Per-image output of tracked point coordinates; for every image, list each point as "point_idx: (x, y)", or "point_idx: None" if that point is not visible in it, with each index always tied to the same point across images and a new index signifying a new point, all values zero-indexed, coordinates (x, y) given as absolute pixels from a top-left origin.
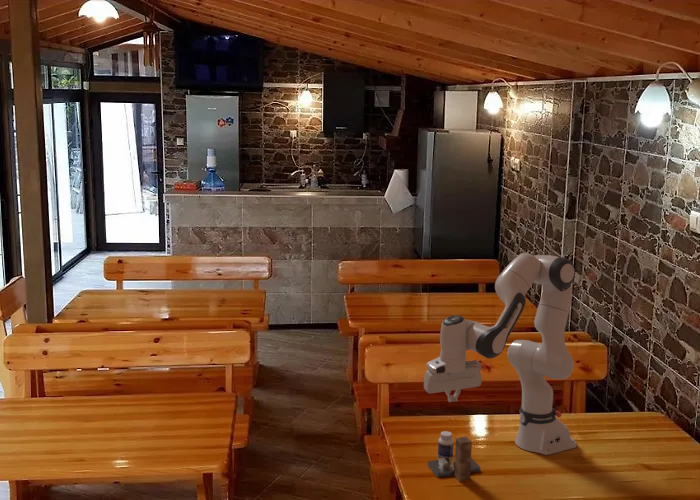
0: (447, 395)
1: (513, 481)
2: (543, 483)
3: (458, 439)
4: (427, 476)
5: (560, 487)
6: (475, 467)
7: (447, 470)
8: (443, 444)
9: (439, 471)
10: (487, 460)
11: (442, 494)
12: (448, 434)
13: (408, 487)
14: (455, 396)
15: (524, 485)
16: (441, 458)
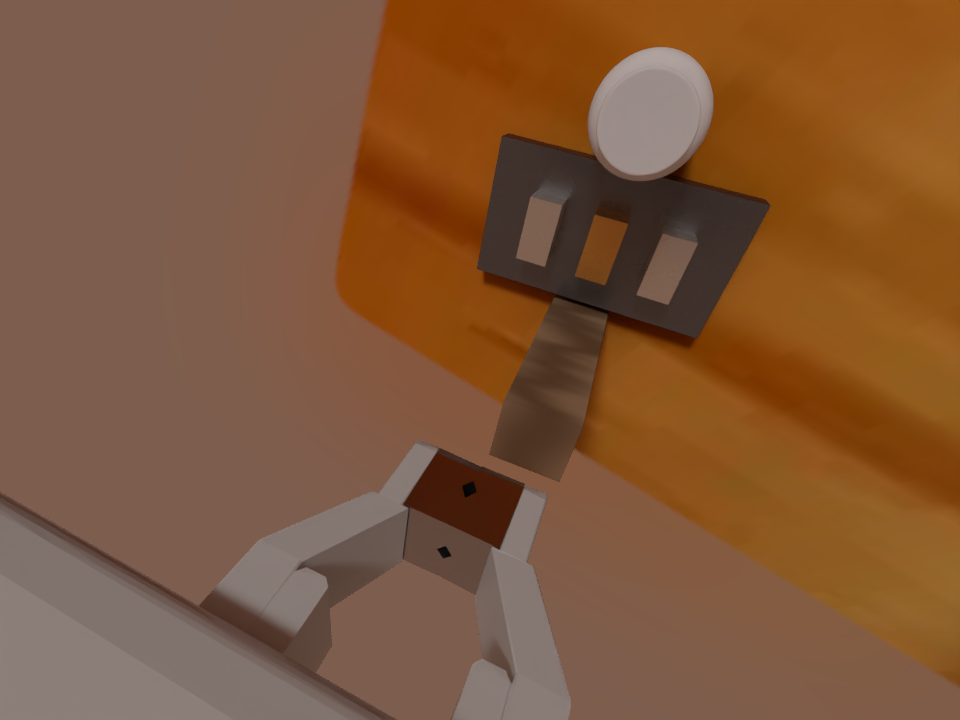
0: (353, 514)
1: (742, 456)
2: (834, 530)
3: (506, 420)
4: (450, 230)
5: (856, 575)
6: (675, 324)
7: (532, 272)
8: (595, 155)
9: (493, 259)
10: (852, 264)
11: (434, 362)
12: (647, 152)
13: (346, 260)
14: (477, 588)
15: (749, 494)
16: (543, 207)
